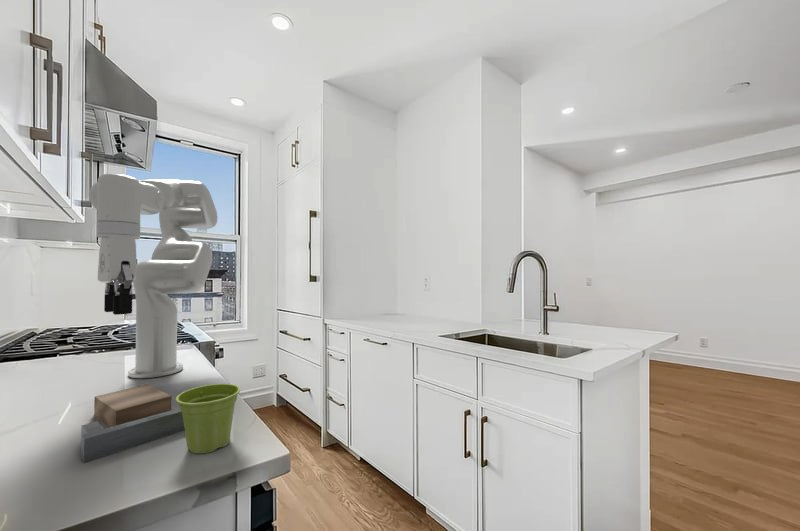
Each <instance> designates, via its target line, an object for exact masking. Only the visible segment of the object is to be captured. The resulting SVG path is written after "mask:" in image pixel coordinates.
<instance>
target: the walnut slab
mask: <svg viewBox="0 0 800 531" xmlns="http://www.w3.org/2000/svg"><path fill="white" fill-rule="evenodd" d="M172 397H173V396H172V395H171V394H168V393H166V392H164V391H162V390H160V389H158V388H156V387H154V386H151V385H149V384H144V385H139V386H135V387H130V388H126V389H122V390H117V391H113V392H108V393H105V394H104V393H103V394H99V395H96V396H94V402H93V403H94V405H93V406H94V410H93V411H94V412H93V413H94V414H93V415H94V416H95V417H96V418H98V419H99V420H100V421H102V422H103V423H104V424H106V425H107V426H109V427H113V426H117V425H120V424H124V423H127V422H131V421H135V420H138V419H142V418H145V417H149V416H153V415H156V414H160V413H163V412H167V411H171V410H172V406H173V405H172V401H173V400H172Z"/></svg>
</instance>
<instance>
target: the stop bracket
mask: <svg viewBox="0 0 800 531" xmlns="http://www.w3.org/2000/svg"><path fill="white" fill-rule="evenodd" d="M179 431H180V432H183V431H185V428H184V422H183V416H182V411H181V410H180V407H178V408H173V409H171V411H167V412H163V413H160V414H156V415H153V416H149V417H145V418H142V419H138V420H135V421H131V422H127V423H124V424H120V425H117V426H113V427H110V426H109V427H106V428H104V427H103V426H102V425H101V424H100V423H99V421H93V422H89V423H86V424H82V425H81V430H80V432H81V434H80V436H81V437H80V439H81V440H80V443H81V446H80V447H81V448H80V449H81V450H80V460H82V462H83V463H87V462H90V461H93V460H97V459H100V458H103V457H105V456H110V455H111V454H116V453H118V452H121V451H124V450H127V449H130V448H133V447H137V446H139V445H142V444H145V443H149V442H151V441H155V440H158V439H160V438H164V437H167V436H170V435H173V434H176V433H178V432H179Z"/></svg>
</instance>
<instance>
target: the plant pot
mask: <svg viewBox="0 0 800 531" xmlns="http://www.w3.org/2000/svg"><path fill="white" fill-rule="evenodd" d="M240 391H241V387H240V386H239V385H237V384H233V383H232V384H230V383H214V384H206V385H201V386H196V387H193V388H190V389H187V390H185V391H182V392H180V393H179V394H178V395H177V396H176V397H175V402H176V403H177V404H178V406H179V407H178V408H180V410H181V411H182V416H183V422H184V428H185V430H184V433H185V440H186V446H187V450H188V451H190V452H192V453H193V454H207V453H211V452H214V451H216V450H217V449H218V448H224V447H225V446H226V445H228V444H229V442H230V440H231V432H232V425H233V424H232V423H233V417H234V410H235V403H236V401H237V399H238V394H240Z"/></svg>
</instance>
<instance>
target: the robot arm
mask: <svg viewBox="0 0 800 531" xmlns="http://www.w3.org/2000/svg"><path fill="white" fill-rule="evenodd" d="M88 197H89V201H90V203H91V205H92V207H93V208H94V209H95V210H96V237H97V238H100V245H99V252H98V263H97V264H98V265H97V267H98V268H97V281H98V282H100V283H105V288H104V302H103V303H104V309H103V310H104V312H105V313H112V314H113V315H114V316H115V315H116V316H117V315H118V316H119V315H130V314H132V313H133V288H134V295H135V303H136V304H135V308H136V309H135V310H136V311H135V312H136V313H135V314H136V315H135V366H134V367H133V368H130V369H129V370H128V373H127V374H128V375H127V376H128V377H130V378H133V379H150V378H158V377H159V378H160V377H164V376H169V375H173V374H175V373H178V372H181V371H182V370H183V369H184V366H183V365H184V364H183V363H181V362H178V361H177V357H178V356H177V354H178V353H177V350H178V307H177V305H176V303H175V302H174V300H172V299H171V297H170V296H169V294H194V293H199V292H200V291H202V289H203V288H204V286H205V284H206V280H207V278H208V276H209V273H210V271H211V267H212V264H213V251H212V248H211V246H210V245H209V244H208V243H206V242H203V241H194V240H193V239H192V237H191V235H190V234H189V233H188V232H187V231H186V230H184V229H200V230H201V229H205V230H207V229H213V228H214V227H215V226H216V225H217V222H218V212H217V209H216V206H215V203H214V199H213V197H212V194H211V192H210V191H209V188H208V187H207V186H206V184H204V183H203V182H200V181H199V180H198V181H197V180H196V181H194V180H181V179H140V180H139V179H137V178H136V177H133V176H130V175H126V174H121V173H120V174H119V173H105V174H104V173H103V174H101V175H100V176H98V178H97V181H96V182H95V183H93V184H92V186H91V188H90V189H89V192H88ZM156 214H158V219H159V220H158V221H159V227H160V232H161V236H162V238H161V239H160V241H159V242H158V244H157V245H156V246H155V248H154V249H153V252H152V254H151V259H149V260H143V261H140V262H139V263H137V244H136V243H137V242H136V240H140V239H141V215H142V216H143V215H145V216H146V215H147V216H151V215H152V216H153V215H156Z"/></svg>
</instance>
